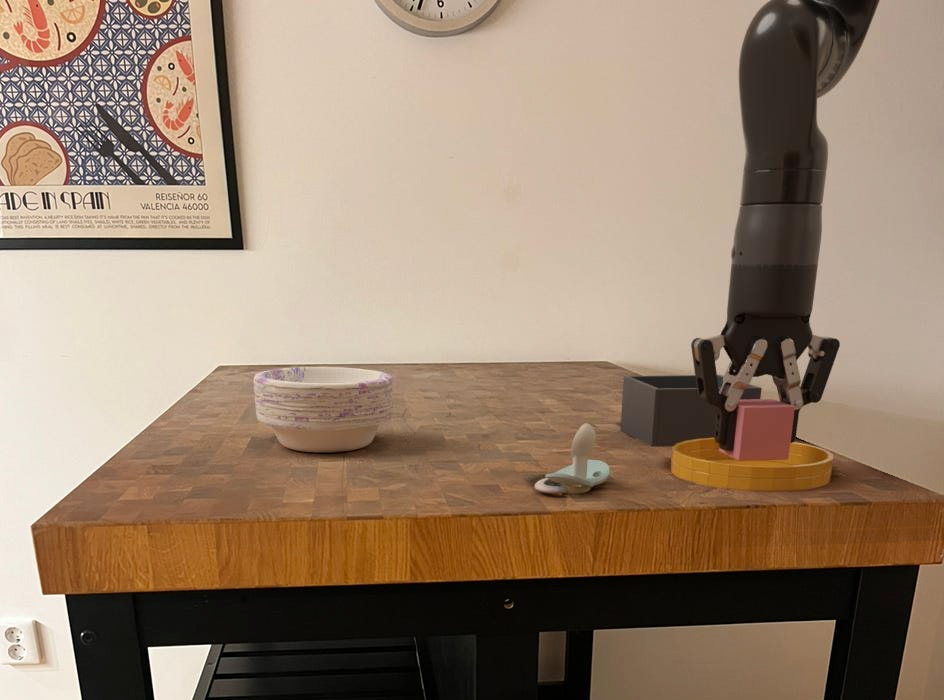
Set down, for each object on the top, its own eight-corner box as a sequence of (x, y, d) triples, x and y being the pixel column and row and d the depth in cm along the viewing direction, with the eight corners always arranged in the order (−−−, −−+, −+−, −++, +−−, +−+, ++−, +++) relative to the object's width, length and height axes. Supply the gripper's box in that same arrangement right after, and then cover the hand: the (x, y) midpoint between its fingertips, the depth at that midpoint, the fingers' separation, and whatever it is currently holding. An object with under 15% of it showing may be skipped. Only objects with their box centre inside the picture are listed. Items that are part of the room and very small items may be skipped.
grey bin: (714, 428, 120) (720, 374, 118) (755, 446, 109) (761, 387, 106) (620, 430, 118) (623, 375, 116) (651, 448, 107) (655, 389, 105)
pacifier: (521, 496, 87) (581, 502, 84) (521, 426, 84) (583, 430, 81) (558, 481, 92) (615, 486, 89) (558, 415, 90) (617, 418, 87)
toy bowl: (787, 459, 102) (790, 435, 101) (859, 491, 88) (863, 464, 87) (650, 462, 100) (652, 438, 99) (702, 496, 86) (705, 468, 85)
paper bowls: (400, 456, 102) (398, 380, 100) (255, 460, 100) (249, 382, 97) (388, 432, 116) (387, 364, 113) (261, 435, 114) (255, 366, 111)
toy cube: (766, 449, 96) (772, 398, 94) (788, 459, 91) (795, 406, 89) (718, 451, 95) (723, 399, 93) (738, 461, 91) (744, 407, 89)
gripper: (713, 260, 82) (696, 458, 89) (870, 260, 84) (842, 454, 91) (683, 260, 89) (669, 443, 96) (829, 260, 91) (806, 440, 97)
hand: (754, 447), depth 93 cm, fingers closed on toy cube, 5 cm apart
